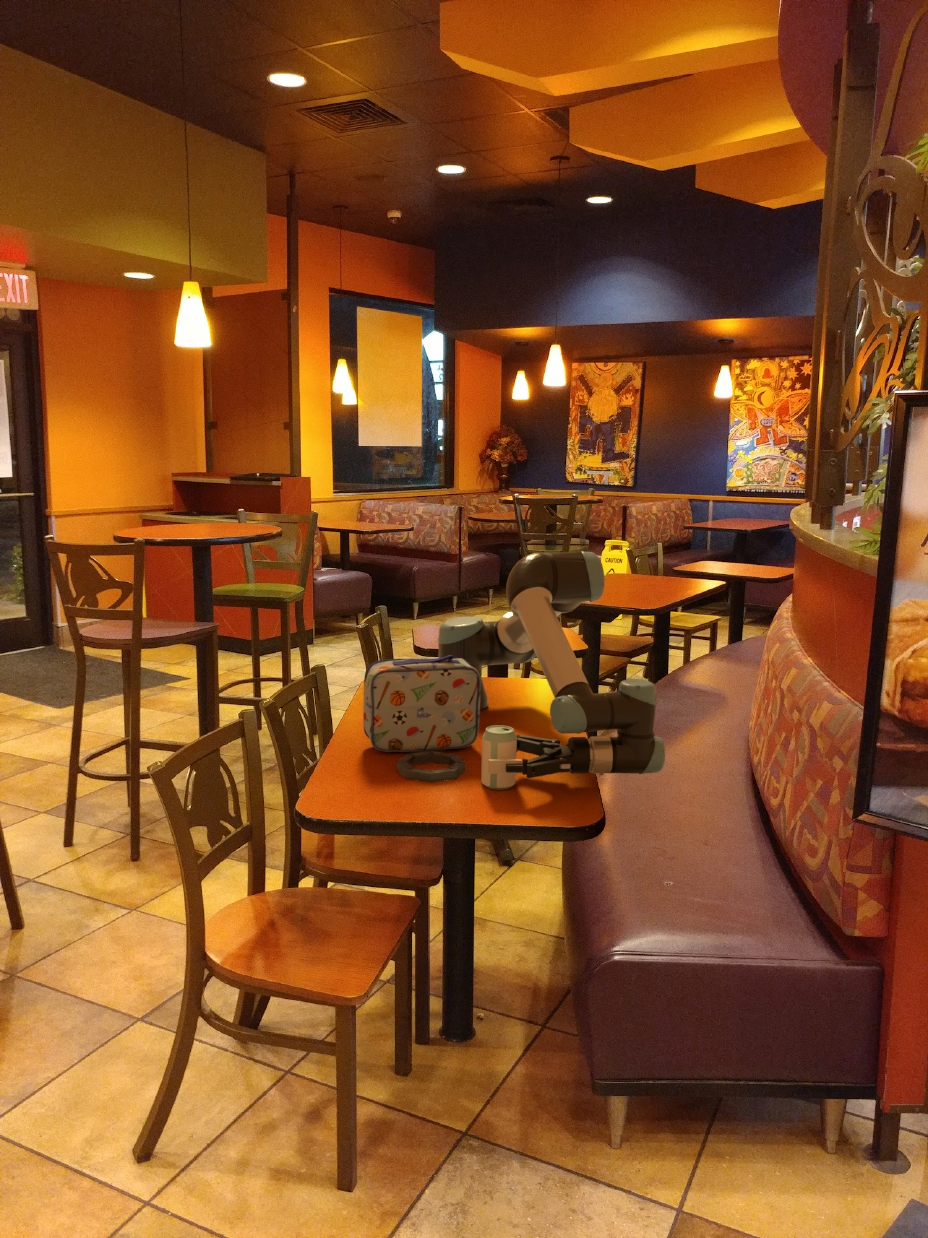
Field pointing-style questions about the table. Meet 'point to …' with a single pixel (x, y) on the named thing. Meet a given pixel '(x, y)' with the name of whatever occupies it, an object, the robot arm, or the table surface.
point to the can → (498, 755)
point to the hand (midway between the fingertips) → (485, 755)
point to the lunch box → (421, 704)
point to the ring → (431, 775)
